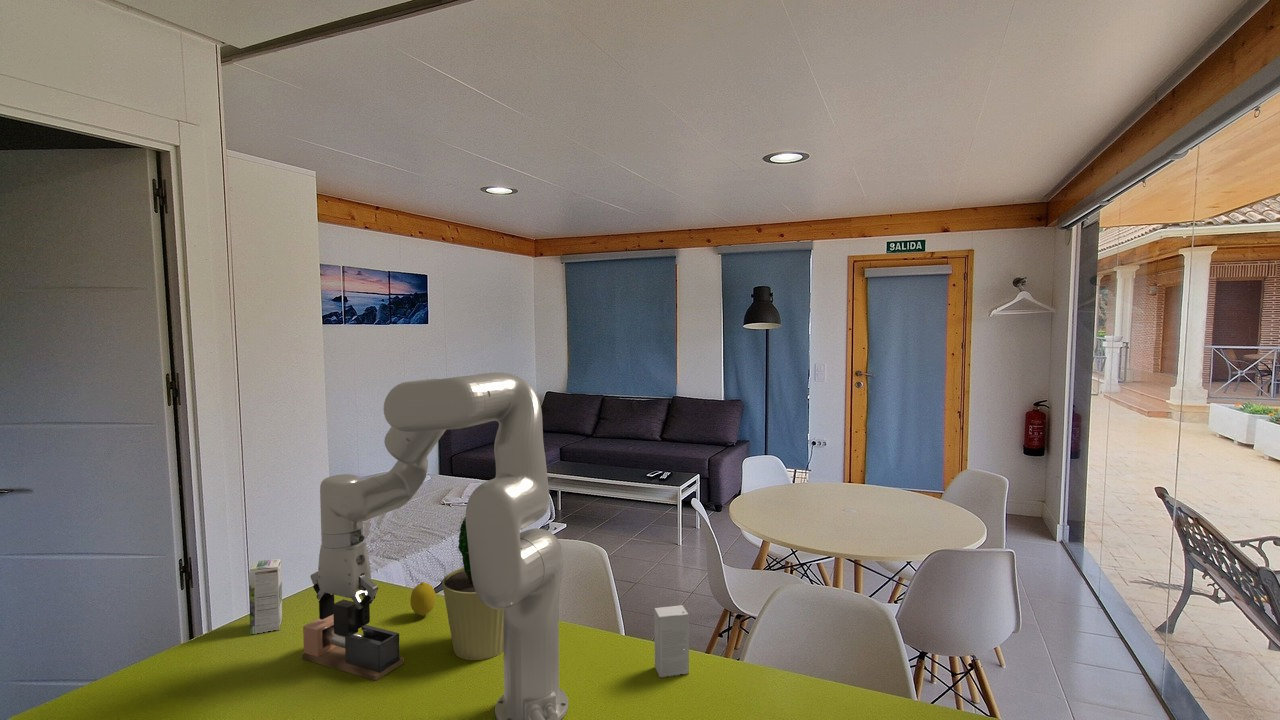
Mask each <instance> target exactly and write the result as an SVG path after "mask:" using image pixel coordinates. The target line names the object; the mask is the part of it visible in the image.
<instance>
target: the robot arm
mask: <svg viewBox="0 0 1280 720" xmlns="http://www.w3.org/2000/svg"><path fill="white" fill-rule="evenodd" d="M383 414H384V419H385V420H386V422H387V423H388V424H389V426H390V428H389V429H388V431H386V432H387V433H386V434H385V436H384V447H385V448H386V450H387V452H388V453H389V454H390V456H392V457H393V458H394V459H396V460H397V461H396V463H394V465H393V466H392V468H391V469H390V470H389V472H386V473H384V474H379V475H377V476H373V477H369V478H366V479H362V480H361V478H360V477H359V476H357V474H355V475H354V474H347V473H346V474H335V475H331V476H328V477H325V478H324V479H323V480H322V481H321V482H320V484H319V485H320V486H319V500H320V502H319V503H320V505H319V506H320V531H321V532H320V535H321V537H320V538H321V539H320V541H321V544H320V547H319V548H320V549H319V555H318V566H317V567H318V569H317V571H316V572H313V573H312V574H311V575H310V580H311V583H312V585H313V586H312V587H313V590H314V591H315V593H316V599H317V600H318V611H319V612H318V613H319V614H318V615H319V617H318V619H319V618H320V619H322V620H323V619H325V618H327V617H329V616H331V615H333V604H335V596H338V597H342V598H348V599H351V600H352V602H354V603H355V605H356V607H357V608H356V609H355V610H354V614H355V628H357V629H358V630H359V629H361V627H362V626H364V625H368V624H369V623H370V622H371V619H370V618H371V616H370V615H371V614H370V613H371V612H370V611H371V610H370V605H372V603H373V601H374V600H375V599H376V595H377V593H378V590H379V586H378V585H377V584H376V583H375V582H374V581H373V580H372V573H371V572H372V570H371V564H370V563H371V562H370V557H369V556H370V555H369V552H368V551H369V550H368V546H367V544H366V543H365V542H364V541H365V536H364V532H363V531H364V527H363V522H365V521H368V520H371V519H373V518H376V517H380V516H381V515H384V514H386V513H389V512H392V511H395V510H398V509H400V508H402V507H403V506H405V505H406V504H408V502H409V501H411V499H412V498H413V497H414V496H415V495H416V494H417V492H418V491H419V489H420V487H421V486H422V485H423V483H424V482H425V480H426V478H427V475H428V468H429V460H428V457H429V454H430V453H431V452H432V451H433V449H434V447H435V446H436V444H437V443H438V442H439V441H440V439H441V437H442V436H443V435H444V433H445V432H446V431H447V430H457V429H464V428H469V427H474V426H477V425H478V426H479V425H482V424H487V423H490V422H497V423H498V428H497V431H496V435H495V439H494V446H493V447H494V449H493V450H494V451H493V452H494V453H493V454H494V460H495V461H494V462H495V477H494V478H492V479H489V480H486V481H485V482H482V483H481V484H479V485H478V486H477V487H476V488H475V489H474V490H473V492H471V494H470V496H469V499H468V500H467V503H466V509H465V517H466V530H467V540H468V549H469V558H470V568H471V576H472V581H473V585H474V588H475V591H476V593H477V595H478V597H479V598H480V599H481V601H482V602H483V603H484V604H485V605H487V606H488V607H491V608H493V609H504V615H503V640H504V652H503V694H502V695H501V696H500V697H499V698H498V700H497V701H496V703H495V707H494V708H495V709H494V713H495V714H494V715H495V719H496V720H562V719H563V718H564V717H566V716H565V715H566V714H567V712H568V709H569V698H568V695H567V694H566V692H565V691H564V690H563V689H561V688H560V643H559V642H560V638H559V636H560V634H559V633H560V629H559V628H560V627H559V624H560V592H561V584H562V577H563V570H564V551H563V547H562V545H561V542H560V541H559V538H557V537H556V535H555V534H554V533H552V532H551V531H549V530H547V529H544V528H538V527H537V528H536V527H535V528H531V529H526V528H527V527H529V526H531V525H533V524H534V523H536V522H538V521H539V520H540V519H542V518H543V517H544V516H545V515H546V513H547V512H548V510H549V508H550V487H549V480H548V478H549V477H548V468H547V461H546V460H547V459H546V453H545V446H544V431H543V425H544V424H543V411H542V406H541V402H540V399H539V396H538V393H537V392H536V391H535V389H534V388H533V387H532V385H531V384H529V383H528V381H526V380H525V379H524V378H522V377H520V376H517V375H516V374H512V373H508V372H487V373H486V372H485V373H478V374H472V375H471V374H470V375H469V374H468V375H462V376H456V377H455V376H454V377H446V378H428V379H421V380H420V379H419V380H410V381H405V382H401V383H398V384H397V385H394V387H392V388H391V390H390V391H389V392H388V393H387V395H386V397H385V400H384V402H383ZM523 529H526V530H523ZM522 530H523V531H522ZM520 531H522V532H520ZM360 596H361V597H362V599H360Z"/></svg>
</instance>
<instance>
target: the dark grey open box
mask: <svg viewBox="0 0 1280 720" xmlns="http://www.w3.org/2000/svg"><path fill="white" fill-rule="evenodd" d="M360 629H361V631H362V635H363V636H365V637H361V636H357V635H353V634H347V635H345V656H346V663H347V664H351V665H354V666H358V667H361V668H365V669H368V670H372V671H375V672H378V673H381V672H382V671H384V670H386V669H387V668H389V667H390V666H392V665H393V664H395V663H396V662H398V661H399V660H400V657H401V655H400V654H401V651H400V633H399V632H396V631H392V630H388V629H384V628H380V627H376V626H372V625H368V624H366V625H364V626H362V627H361V628H360Z"/></svg>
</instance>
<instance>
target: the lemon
mask: <svg viewBox="0 0 1280 720" xmlns="http://www.w3.org/2000/svg"><path fill="white" fill-rule="evenodd" d="M436 599H437V597H436V592H435V589H434V587H433V586H432V585H431V584H430V583H426V582H423V581H422V582H420V583H419V584H417V585H416V586H415V587H413V590H411V594H410V601H409V602H410V608H411V609H412V611H413V612H414V613H415V614H417V615H419V616H421V617H425V616H426V615H427V614H429V613H431V611H432V610H433V609H434V607H435V604H436Z"/></svg>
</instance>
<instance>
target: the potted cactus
mask: <svg viewBox="0 0 1280 720" xmlns="http://www.w3.org/2000/svg"><path fill="white" fill-rule="evenodd" d="M460 524H461V525H460V526H459V528H460V529H459V528H458V529H457V530H456V531H457V532H459V533H456V535H458V536H457V537H458V541H457V542H458V545H457V552H456V554H458V553H459V554H461V561H462V567H460V568H458V569H455V570H453V571H451V572H449V573H448V574H446V575H445V576H444V577H443V578H442V581H441V583H442V591H443V596H444V597H443V598H444V601H445V607H446V613H447V614H446V615H447V619H448V626H449V631H450V637H451V643H452V644H451V645H452V648H453V651H454V652H453V653H454V655H456V656H457V657H459V658H461V659H463V660H466V661H483V660H488V659H491V658H492V659H493V658H494V657H497V656H499V655H501V654H503V653H504V640H503V615H504V609H493V608H491V607H488V606H487V605H485V604H484V603H483V602H482V601H481V599H480V598H479V597H478V595H477V593H476V591H475V588H474V585H473V581H472V576H471V568H470V558H469V549H468V540H467V530H466V516H464V517H463V518H461V523H460Z"/></svg>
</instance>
